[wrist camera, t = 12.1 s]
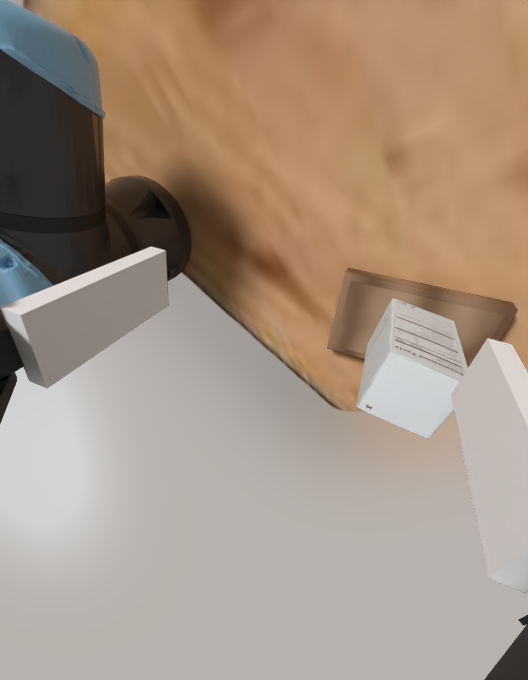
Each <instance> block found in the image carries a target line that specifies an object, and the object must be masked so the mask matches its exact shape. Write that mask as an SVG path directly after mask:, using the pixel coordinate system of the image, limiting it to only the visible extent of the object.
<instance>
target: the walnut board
mask: <svg viewBox="0 0 528 680" xmlns="http://www.w3.org/2000/svg"><path fill="white" fill-rule="evenodd" d="M393 298H394V299H397V300H400V301H402V302H405V303H408V304H411V305H413V306H416V307H418V308H421V309H424V310H426V311H429V312H432V313H434V314H437V315H440V316H442V317H445V318H447V319H450V320H453V321H454V322H455V325H456V329H457V332H458V336H459V338H460V342H461V346H462V349H463V353H464V356H465V359H466V363H467V366H468V367H469V366H470V364H471V363H472V361H473V360H474V358H475V357H476V355H477V354H478V352H479V350H480V349H481V347H482V346H483V344H484V343H485V341H486V340H487V338H489V339H493V340H496V341H499V340H500V339H501V337H502V335H503V334H504V332H505V330H506V329H507V327H508V325H509V324H510V322H511V321H512V319H513V317H514V316H515V314H516V312H517V311H518V310H517V308H516V307H515V305H514V304H513V303H512V302H507V301H502V300H498V299H493V298H488V297H484V296H479V295H474V294H469V293H465V292H460V291H455V290H450V289H446V288H441V287H436V286H432V285H427V284H422V283H417V282H413V281H408V280H403V279H398V278H394V277H389V276H384V275H380V274H375V273H370V272H365V271H361V270H356V269H351V268H348V269H347V271H346V273H345V277H344V281H343V285H342V289H341V293H340V297H339V301H338V305H337V310H336V314H335V318H334V322H333V326H332V330H331V334H330V338H329V342H328V346H327V348H328V349H331V350H335V351H338V352H342V353H345V354H349V355H352V356H356V357H359V358H363V359H365V355H366V350H367V344H368V342H369V340H370V338H371V336H372V335H373V333H374V331H375V329H376V327H377V325H378V323H379V321H380V320H381V318H382V316H383V314H384V312H385V310H386V308H387V307H388V305H389V303H390V302H391V300H392V299H393Z"/></svg>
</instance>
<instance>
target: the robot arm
mask: <svg viewBox="0 0 528 680" xmlns="http://www.w3.org/2000/svg"><path fill="white" fill-rule="evenodd" d="M104 117H105V113H104V111H103V110H102V101H101V90H100V79H99V69H98V65H97V62H96V59H95V57H94V55H93V53H92V52H91V50H90V49H89V48H88V46H87V45H86V44H85V43H84V42H83V41H82V40H81V39H79V38H78V37H77V36H75V35H73V34H72V33H70V32H68V31H66V30H65V29H63V28H61V27H59V26H57V25H55V24H54V23H52V22H50V21H48V20H46V19H44V18H42V17H40V16H38V15H36V14H34V13H32V12H30V11H28V10H26V9H24V8H22V7H20V6H18V5H16V4H14V3H12V2H10V1H8V0H0V423H1V421H2V418H3V416H4V413H5V410H6V408H7V405H8V403H9V400H10V397H11V395H12V393H13V390H14V387H15V385H16V382H17V376H16V374H15V371H17V370H18V369H20V368H22V367H24V369H25V372H26V374H27V377H28V379H29V381H31V382H33V383H36V384H38V385H40V386H43V387H45V388H48V387H50V386H51V385H53V384H54V383H56V382H57V381H59V380H60V379H62V378H63V377H65V376H66V375H68V374H69V373H70V372H71V371H73V370H75V369H76V368H77V367H79V366H81V365H82V364H84V363H85V362H86V361H88V360H89V359H91V358H92V357H94V356H95V355H97V354H98V353H99V352H101V351H102V350H104V349H105V348H107V347H108V346H110V345H111V344H112V343H114V342H116V341H117V340H119V339H120V338H121V337H123V336H124V335H126V334H127V333H128V332H130V331H131V330H133V329H135V328H136V327H137V326H139V325H140V324H142V323H143V322H145V321H146V320H148V319H149V318H151V317H152V316H153V315H155V314H156V313H158V312H159V311H161V310H162V309H164V308H165V307H166V306H168V305H169V304H168V284H167V281H169V280H171V279H172V278H174V277H176V276H177V275H179V274H180V273H181V272H182V271H183V269H184V268H185V266H186V264H187V262H188V259H189V255H190V247H191V241H190V233H189V228H188V225H187V222H186V219H185V216H184V214H183V212H182V210H181V208H180V207H179V205H178V203H177V202H176V201H175V199H174V198H173V197H172V195H171V194H170V193H169V192H168V191H167V190H166V189H165V188H163V187H162V186H161V185H160V184H158V183H157V182H155V181H153V180H151V179H149V178H146V177H142V176H126V177H119V178H116V179H113V180H111V181H109V182H108V183H106V184H105V174H104V149H103V118H104ZM451 398H452V403H453V408H454V412H455V417H456V422H457V427H458V432H459V437H460V442H461V447H462V452H463V456H464V461H465V466H466V471H467V476H468V481H469V486H470V491H471V495H472V501H473V505H474V511H475V515H476V521H477V525H478V530H479V535H480V540H481V545H482V550H483V555H484V560H485V564H486V570H487V575H488V578H490V579H492V580H495V581H497V582H500V583H502V584H504V585H506V586H509V587H511V588H514V589H516V590H518V591H520V592H523V593H527V592H528V373H527V371H526V369H525V367H524V366H523V364H522V362H521V360H520V359H519V357H518V355H517V353H516V351H515V350H514V348H513V346H512V345H511V344H507V343H504V342H500V341H496V340H493V339H489V338H487V340H486V341H485V343H484V344H483V346H482V347H481V349H480V350H479V352H478V354H477V355H476V357H475V358H474V360H473V361H472V363H471V364H470V366H469V367H468V369H467V370H466V372H465V374H464V375H463V377H462V378H461V380H460V381H459V383H458V384H457V386H456V387H455V389H454V390H453V392H452V394H451ZM519 621H520V622H521V623H522V625H526V624H527V625H526V627H525V628H524V629H523V631H522V632H521V633H520V634H519V636H518V637H517V638H516V640H515V641H514V642H513V643H512V645H511V646H510V647H509V649H508V650H507V651H506V652H505V654H504V655H503V656H502V658H501V659H500V660H499V662H498V663H497V664H496V665H495V667H494V668H493V669H492V671H491V672H490V673H489V674H488V676H487V677H486V678H485V680H528V615H526V616H525V617H523V618H521V619H519Z"/></svg>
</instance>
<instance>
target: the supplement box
mask: <svg viewBox="0 0 528 680" xmlns="http://www.w3.org/2000/svg"><path fill="white" fill-rule="evenodd" d="M467 369H468V366H467V363H466V359H465V356H464V353H463V349H462V346H461V342H460V338H459V336H458V332H457V329H456V325H455V322H454V321H453V320H450V319H447V318H445V317H442V316H440V315H437V314H434V313H432V312H429V311H426V310H424V309H421V308H418V307H416V306H413V305H411V304H408V303H405V302H402V301H400V300H397V299H394V298H393V299H392V300H391V302H390V303H389V305H388V307H387V308H386V310H385V312H384V314H383V316H382V318H381V320H380V321H379V323H378V325H377V327H376V329H375V331H374V333H373V335H372V336H371V338H370V340H369V342H368V344H367V350H366V355H365V361H364V366H363V371H362V377H361V382H360V387H359V393H358V398H357V404H356V407H357V408H359V409H361V410H363V411H365V412H367V413H370V414H372V415H374V416H376V417H379V418H381V419H383V420H385V421H388V422H390V423H392V424H394V425H397V426H399V427H401V428H404V429H406V430H408V431H410V432H412V433H415V434H417V435H419V436H422V437H424V438H427V439H428V438H430V437H431V435H432V434H433V433H434V432H435V431H436V430H437V428H438V427H439V426H440V425H441V424H442V423H443V422H444V421H445V420H446V418H447V417H448V416H449V415H450V414H451V413H452V412H453V411H454V408H453V403H452V398H451V394H452V392H453V390H454V389H455V387H456V386H457V384H458V383H459V381H460V380H461V378H462V377H463V375H464V374H465V372H466V370H467Z"/></svg>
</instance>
